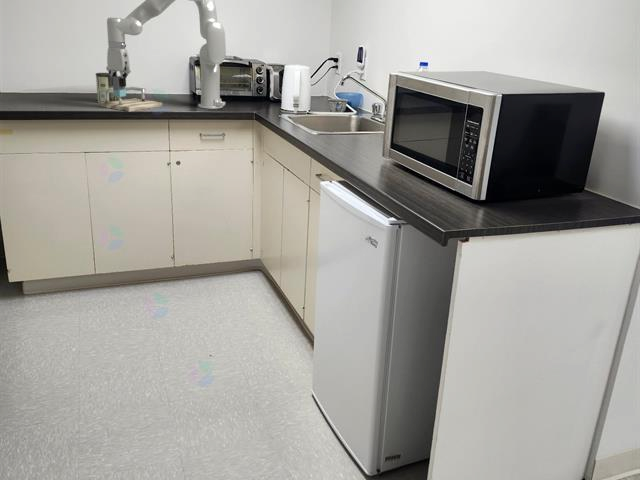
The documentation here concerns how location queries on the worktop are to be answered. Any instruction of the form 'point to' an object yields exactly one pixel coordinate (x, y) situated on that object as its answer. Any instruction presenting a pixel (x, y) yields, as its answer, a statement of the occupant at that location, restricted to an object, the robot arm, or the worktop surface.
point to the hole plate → (131, 104)
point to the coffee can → (104, 87)
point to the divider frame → (126, 90)
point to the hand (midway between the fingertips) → (119, 85)
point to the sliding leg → (118, 88)
